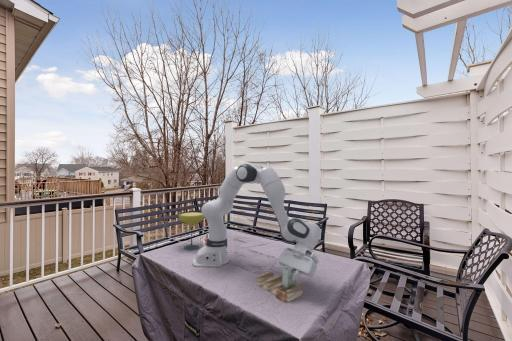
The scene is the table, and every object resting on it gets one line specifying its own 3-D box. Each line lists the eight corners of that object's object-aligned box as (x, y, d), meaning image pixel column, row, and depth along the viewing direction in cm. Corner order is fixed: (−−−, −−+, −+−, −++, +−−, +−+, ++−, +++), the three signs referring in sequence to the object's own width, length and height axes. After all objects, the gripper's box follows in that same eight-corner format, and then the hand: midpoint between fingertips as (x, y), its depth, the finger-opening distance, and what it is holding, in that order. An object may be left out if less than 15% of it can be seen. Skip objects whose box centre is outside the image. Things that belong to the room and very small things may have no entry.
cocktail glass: (176, 245, 187) (177, 212, 186) (201, 242, 194) (201, 210, 194) (180, 253, 170) (180, 216, 170) (206, 249, 178) (207, 214, 177)
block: (282, 289, 117) (282, 268, 117) (291, 285, 121) (291, 265, 121) (287, 292, 115) (287, 270, 114) (295, 287, 119) (296, 266, 118)
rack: (255, 285, 126) (255, 276, 126) (270, 279, 134) (271, 270, 134) (286, 303, 110) (286, 293, 110) (302, 294, 118) (302, 285, 118)
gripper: (283, 243, 130) (269, 267, 123) (316, 254, 114) (302, 282, 108) (288, 250, 133) (275, 273, 126) (321, 261, 117) (308, 289, 111)
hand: (288, 277), depth 117 cm, fingers closed on block, 3 cm apart
